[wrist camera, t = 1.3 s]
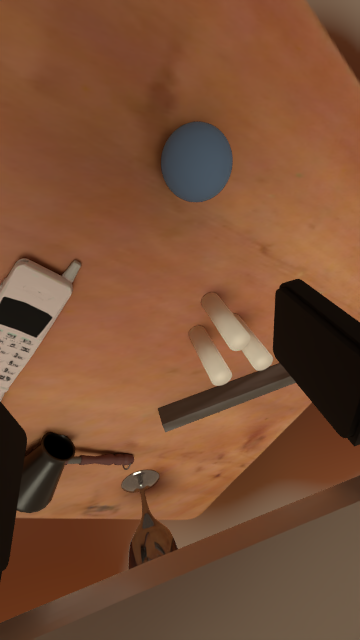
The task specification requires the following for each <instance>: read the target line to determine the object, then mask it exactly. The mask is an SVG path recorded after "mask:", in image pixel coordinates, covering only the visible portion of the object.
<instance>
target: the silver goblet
mask: <svg viewBox="0 0 360 640" xmlns="http://www.w3.org/2000/svg"><path fill="white" fill-rule="evenodd" d="M158 480H159V474H158V473H157V472H156V471H153V470H142V471H138V472H135V473H133V474H131V475H129V476H128V477H126V478H125V479H124V480H123V482H122V485H121V486H122V489H123V490H124V491H126V492H131V493H135V492H140V493H141V499H142V518H141V521H140V524H139V526H138V528H137V530H136V532H135V534H134V536H133V538H132V540H131V543H130V549H129V569H131V568H134V567H136V566H139V565H141V564H143V563H146V562H148V561H151V560H153V559H156V558H158V557H161V556H163V555H165V554H168V553H170V552H173V551H175V550H178V548H177V545H176V542H175V540H174V538H173V536H172V534H171V532H170V530H169V529H168V528H167V527H166V526H164V525H163V524H162V523H160V522H159V521H158V520H156V519H155V518H154V517H153V515H152V514H151V512H150V510H149V507H148V504H147V501H146V496H145V490H147V489H149V488H151V487H152V486H154V485H155V484H156V483H157V482H158Z"/></svg>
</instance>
